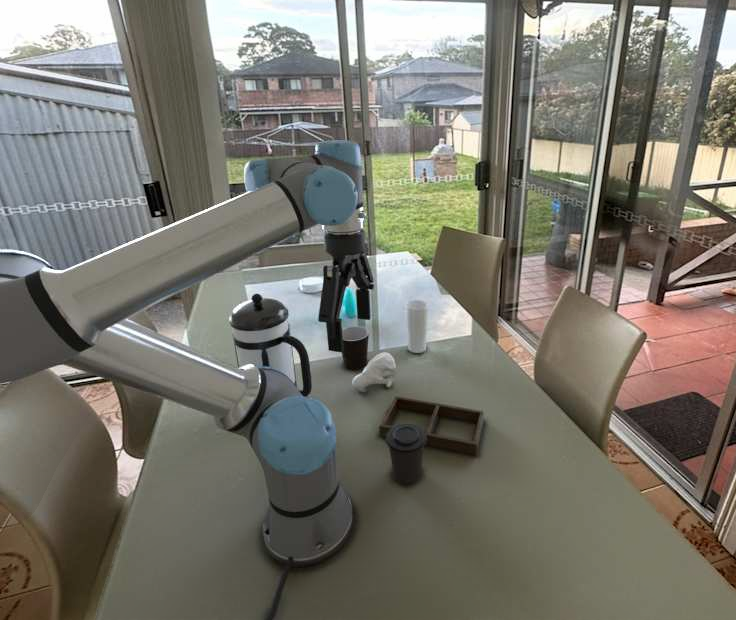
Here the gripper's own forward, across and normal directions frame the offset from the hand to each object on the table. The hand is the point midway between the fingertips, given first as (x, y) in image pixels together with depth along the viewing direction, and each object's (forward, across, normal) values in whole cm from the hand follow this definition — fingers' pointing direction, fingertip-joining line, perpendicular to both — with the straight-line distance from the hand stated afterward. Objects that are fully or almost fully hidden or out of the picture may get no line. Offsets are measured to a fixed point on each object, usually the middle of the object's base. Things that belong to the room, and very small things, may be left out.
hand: (351, 333), depth 87 cm
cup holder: (+27, +8, -15) cm, 32 cm away
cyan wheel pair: (+27, +55, +30) cm, 68 cm away
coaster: (+27, +76, +52) cm, 96 cm away
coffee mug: (+27, +30, +13) cm, 42 cm away
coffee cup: (+27, -6, -13) cm, 30 cm away
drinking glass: (+27, +41, -2) cm, 49 cm away
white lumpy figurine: (+27, +20, +4) cm, 34 cm away
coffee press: (+27, +6, +24) cm, 37 cm away
